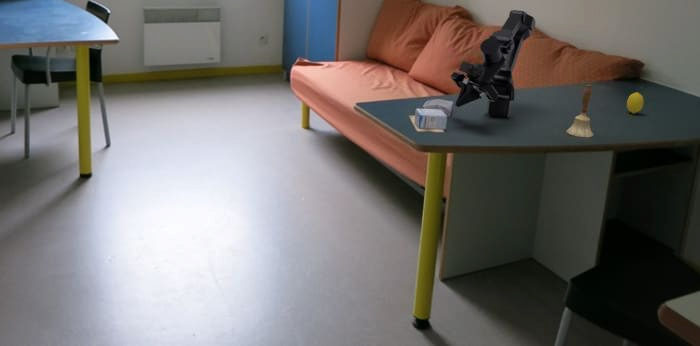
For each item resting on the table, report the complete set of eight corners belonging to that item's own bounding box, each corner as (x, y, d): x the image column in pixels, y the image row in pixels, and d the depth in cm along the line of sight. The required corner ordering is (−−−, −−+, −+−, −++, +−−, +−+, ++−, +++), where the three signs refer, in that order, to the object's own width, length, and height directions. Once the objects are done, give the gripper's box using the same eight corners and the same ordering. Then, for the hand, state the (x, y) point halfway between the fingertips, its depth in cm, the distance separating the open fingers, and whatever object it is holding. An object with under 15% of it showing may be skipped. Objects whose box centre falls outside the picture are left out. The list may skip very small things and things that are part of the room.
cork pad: (433, 117, 240) (434, 116, 239) (444, 132, 224) (444, 131, 223) (408, 116, 239) (408, 115, 239) (417, 131, 223) (417, 130, 223)
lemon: (641, 113, 264) (646, 91, 261) (640, 116, 259) (644, 94, 256) (625, 110, 266) (629, 89, 263) (624, 114, 261) (628, 92, 258)
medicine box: (440, 122, 233) (414, 121, 232) (442, 109, 231) (415, 108, 230) (445, 129, 225) (418, 128, 225) (447, 115, 224) (419, 114, 223)
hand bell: (598, 136, 231) (607, 86, 226) (581, 138, 227) (590, 88, 222) (578, 129, 238) (586, 81, 233) (560, 131, 233) (569, 82, 228)
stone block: (422, 120, 243) (452, 117, 241) (421, 106, 242) (451, 103, 240) (425, 113, 254) (454, 110, 252) (424, 99, 253) (453, 96, 251)
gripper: (458, 46, 233) (426, 82, 232) (495, 58, 217) (461, 97, 216) (475, 69, 239) (444, 104, 238) (512, 82, 224) (479, 120, 223)
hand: (456, 106), depth 229 cm, fingers closed
